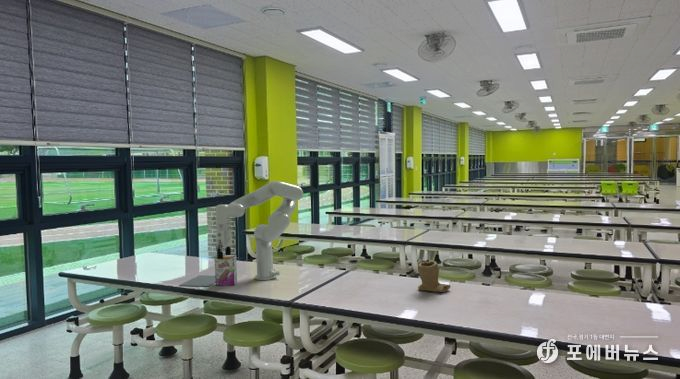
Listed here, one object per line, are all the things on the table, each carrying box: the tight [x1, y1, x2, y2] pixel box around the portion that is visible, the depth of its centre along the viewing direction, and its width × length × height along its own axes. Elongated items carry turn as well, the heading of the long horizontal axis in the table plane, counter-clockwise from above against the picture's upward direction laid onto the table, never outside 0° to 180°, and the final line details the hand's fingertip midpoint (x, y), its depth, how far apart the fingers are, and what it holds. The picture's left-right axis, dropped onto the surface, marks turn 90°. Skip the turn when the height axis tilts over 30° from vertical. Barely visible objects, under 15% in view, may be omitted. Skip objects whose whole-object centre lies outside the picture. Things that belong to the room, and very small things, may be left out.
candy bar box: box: [214, 254, 238, 286], centre depth 253 cm, size 11×5×16 cm, turn 84°
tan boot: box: [417, 260, 451, 293], centre depth 228 cm, size 15×12×15 cm
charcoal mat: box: [179, 274, 216, 288], centre depth 262 cm, size 18×22×1 cm
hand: (224, 256), depth 253 cm, fingers open, 9 cm apart
